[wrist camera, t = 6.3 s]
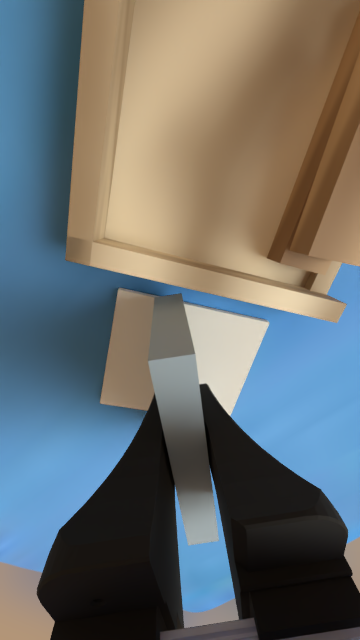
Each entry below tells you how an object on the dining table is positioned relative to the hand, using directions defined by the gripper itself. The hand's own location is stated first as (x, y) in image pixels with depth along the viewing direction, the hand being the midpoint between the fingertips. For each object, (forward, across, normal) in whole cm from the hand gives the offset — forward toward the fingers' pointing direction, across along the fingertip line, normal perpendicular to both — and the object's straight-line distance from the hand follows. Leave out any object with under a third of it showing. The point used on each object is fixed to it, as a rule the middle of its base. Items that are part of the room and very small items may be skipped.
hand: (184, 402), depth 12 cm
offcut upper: (+2, -8, -9) cm, 12 cm away
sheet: (+2, 0, 0) cm, 3 cm away
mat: (+4, 0, 0) cm, 4 cm away
